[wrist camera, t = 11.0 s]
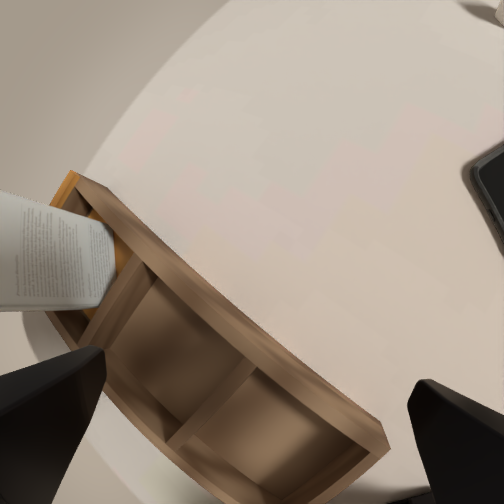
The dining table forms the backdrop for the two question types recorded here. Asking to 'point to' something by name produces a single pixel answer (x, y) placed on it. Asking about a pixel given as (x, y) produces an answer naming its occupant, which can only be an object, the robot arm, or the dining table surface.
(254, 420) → the wooden crate
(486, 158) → the phone
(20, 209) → the skincare box
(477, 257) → the dining table surface
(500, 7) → the white stepped block
